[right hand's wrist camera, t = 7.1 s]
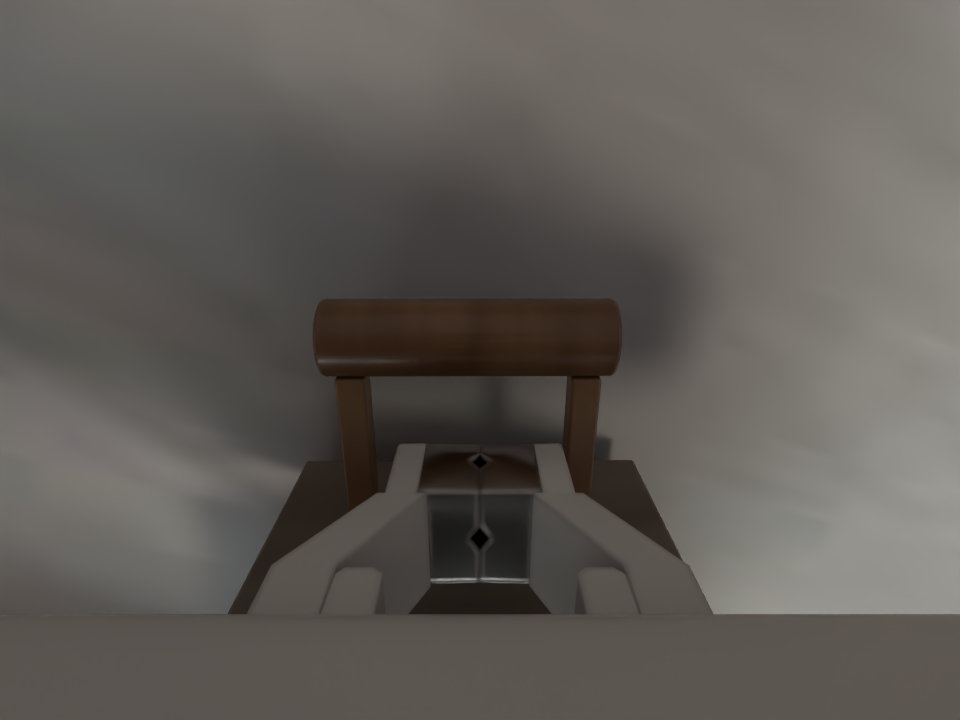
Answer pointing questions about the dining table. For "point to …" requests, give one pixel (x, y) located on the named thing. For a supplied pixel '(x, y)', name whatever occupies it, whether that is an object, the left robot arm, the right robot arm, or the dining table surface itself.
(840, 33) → the dining table surface
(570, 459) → the drawer
